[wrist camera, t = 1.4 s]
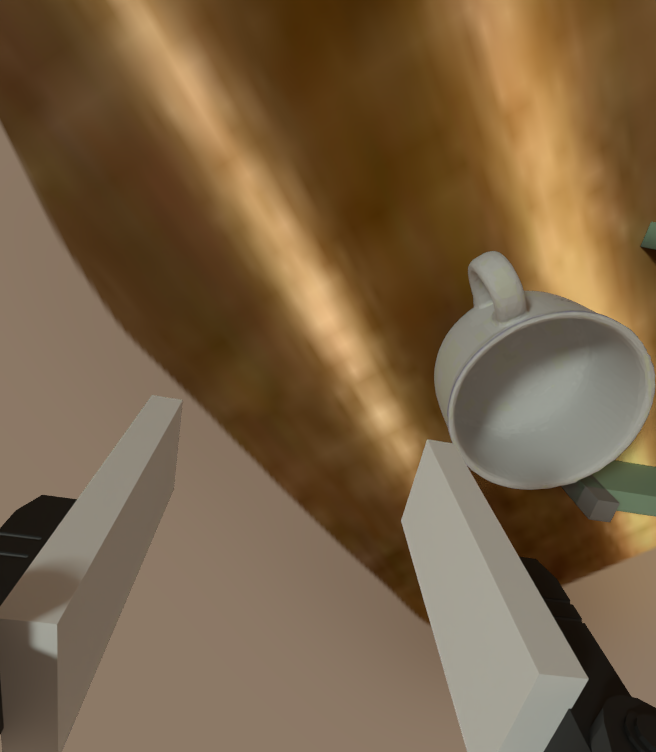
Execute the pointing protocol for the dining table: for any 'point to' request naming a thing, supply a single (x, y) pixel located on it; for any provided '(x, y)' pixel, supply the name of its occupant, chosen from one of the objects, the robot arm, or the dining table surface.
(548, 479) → the teacup
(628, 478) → the tray
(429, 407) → the dining table surface
